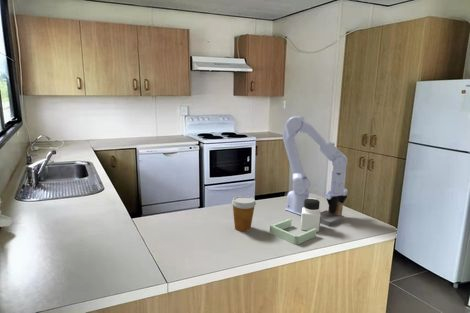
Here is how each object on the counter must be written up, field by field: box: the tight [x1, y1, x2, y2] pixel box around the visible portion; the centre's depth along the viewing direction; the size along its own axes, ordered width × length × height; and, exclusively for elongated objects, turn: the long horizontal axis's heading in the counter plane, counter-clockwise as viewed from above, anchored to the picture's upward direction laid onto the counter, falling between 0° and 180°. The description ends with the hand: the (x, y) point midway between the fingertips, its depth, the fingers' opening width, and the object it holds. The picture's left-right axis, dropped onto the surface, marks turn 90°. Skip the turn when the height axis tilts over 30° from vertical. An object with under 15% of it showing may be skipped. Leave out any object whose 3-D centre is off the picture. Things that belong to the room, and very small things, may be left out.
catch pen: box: [269, 218, 317, 246], centre depth 124 cm, size 13×12×3 cm
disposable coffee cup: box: [231, 195, 257, 232], centre depth 128 cm, size 10×10×12 cm
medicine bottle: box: [300, 197, 321, 233], centre depth 131 cm, size 7×7×12 cm
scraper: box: [320, 202, 345, 227], centre depth 140 cm, size 9×12×7 cm
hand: (335, 211), depth 143 cm, fingers open, 4 cm apart
